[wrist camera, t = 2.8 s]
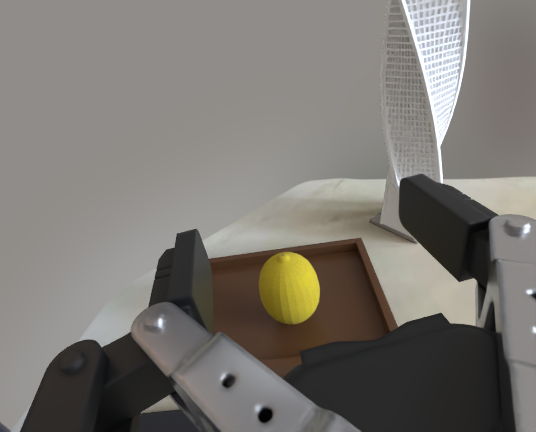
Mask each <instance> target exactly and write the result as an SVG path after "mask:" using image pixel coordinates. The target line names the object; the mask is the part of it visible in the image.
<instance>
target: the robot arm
mask: <svg viewBox="0 0 536 432" xmlns="http://www.w3.org/2000/svg"><path fill="white" fill-rule="evenodd" d="M399 219H400V222H401V224H402V226H403V227H404V228H405V229H406V230H407V231H408V232H409V233H410V234H411V235H412V236H413V237H414V238H415V239H416V240H417V241H418V242H419V243H420V244H421V245H422V246H423V247H424V248H425V249H426V250H427V251H428V252H429V253H430V254H431V255H432V256H433V257H434V258H435V259H436V260H437V261H438V262H439V263H440V264H441V265H442V266H443V267H444V268H445V269H446V270H447V271H448V272H449V273H450V274H452V275H453V276H454V277H455V278H456V279H457V280H458V281H459V282H461V281H464V280H468V279H472V278H475V279H476V280H477V283H476V289H475V295H476V326H472V325H465V324H450V323H449V321H448V320H447V319H446V318H445V317H444V316H443V314H442V313H439V314H435V315H431V316H428V317H424V318H420V319H417V320H413V321H409V322H406V323H405V324H403V325H401V326H399V327H398V328H396V329H394V330H392V331H391V332H389V333H387V334H385V335H384V336H382V337H380V338H378V339H376V340H365V341H338V342H332V343H328V344H324V345H320V346H317V347H313V348H309V349H306V350H302V351H299V352H300V356H301V361H302V363H301V364H299V365H298V366H296V367H294V368H293V369H292V370H290V371H289V372H288V373H287V374H286V375H285V376H284V377H283V378H281V377H280V376H278V375H277V374H276V373H274V372H273V371H272V370H271V369H269V368H268V367H267V366H265V365H264V364H263V363H262V362H260V361H259V360H258V359H256V358H255V357H254V356H252V355H251V354H250V353H249V352H247V351H246V350H245V349H243V348H242V347H241V346H240V345H238V344H237V343H236V342H234V341H233V340H232V339H231V338H229V337H228V336H227V335H225V334H224V333H222V332H219V331H218V332H217V333H215V334H214V331H213V278H212V269H211V265H210V261H209V258H208V256H207V253H206V250H205V247H204V245H203V242H202V239H201V237H200V234H199V232H198V230H197V229H194V230H190V231H186V232H182V233H178V234H177V237H176V242H175V248H171V249H167V250H166V251H165V252H164V253H163V255H162V256H161V257H160V259H159V261H158V266H157V271H156V275H155V280H154V284H153V288H152V293H151V297H150V302H149V307H148V308H147V309H145V310H144V311H143V312H141V313H140V314H139V315H138V316H137V318H136V319H135V320H134V322H133V324H132V326H131V332H130V333H128V334H127V335H125V336H123V337H122V338H120V339H118V340H116V341H114V342H112V343H110V344H108V345H106V346H104V347H101V346H100V345H99V343H98V342H96V341H94V340H83V341H79V342H77V343H75V344H73V345H71V346H69V347H67V348H66V349H64V350H63V351H62V352H60V353H59V354H58V355H57V356H56V357H55V358H54V359H53V360H52V362H51V363H50V364H49V366H48V368H47V369H46V372H45V374H44V376H43V379H42V381H41V383H40V386H39V388H38V391H37V393H36V395H35V398H34V400H33V402H32V405H31V407H30V409H29V412H28V414H27V416H26V419H25V421H24V423H23V426H22V428H21V431H20V432H139V424H140V415H141V412H142V411H143V410H145V409H147V408H148V407H150V406H152V405H153V404H155V403H157V402H158V401H160V400H162V399H163V398H165V397H167V396H168V395H169V396H170V397H171V398H172V400H173V401H174V402H175V403H176V404H177V406H178V407H179V408H180V409H181V410H182V412H183V413H184V414H185V415H186V416H187V418H188V419H189V420H190V421H191V422H192V424H193V425H194V426H195V427H196V428H197V429H198V431H199V432H536V220H535V219H532V218H529V217H526V216H521V215H512V214H508V215H500V216H499V215H498V214H496V213H494V212H493V211H491V210H489V209H488V208H486V207H485V206H483V205H481V204H480V203H478V202H476V201H475V200H471V198H470V197H468V196H467V195H465V194H463V193H462V192H460V191H459V190H457V189H455V188H454V187H452V186H449V185H445V184H442V183H439V182H435V181H434V180H432V179H431V178H429V177H427V176H426V175H424V174H418V175H413V176H409V177H405V178H402V179H401V180H400V184H399Z"/></svg>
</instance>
